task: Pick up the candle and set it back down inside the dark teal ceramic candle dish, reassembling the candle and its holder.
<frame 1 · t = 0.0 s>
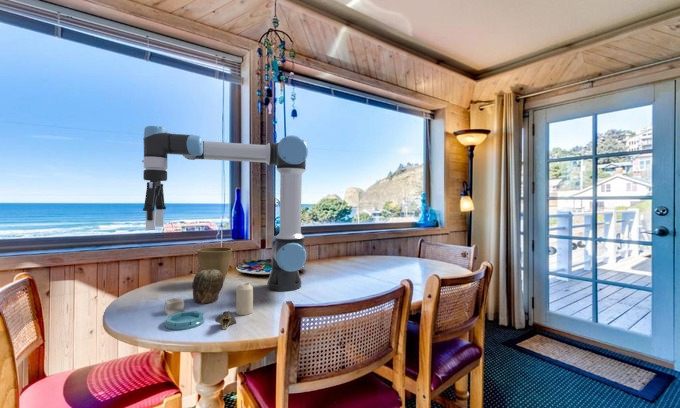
hand: (155, 228, 119), 28 cm above the table, fingers open, 13 cm apart
candle dish: (185, 323, 103), on the table
candle: (244, 313, 113), on the table
brown rough lump: (208, 301, 125), on the table
plant pot: (214, 284, 149), on the table
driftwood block: (174, 312, 113), on the table
shark head: (225, 328, 100), on the table
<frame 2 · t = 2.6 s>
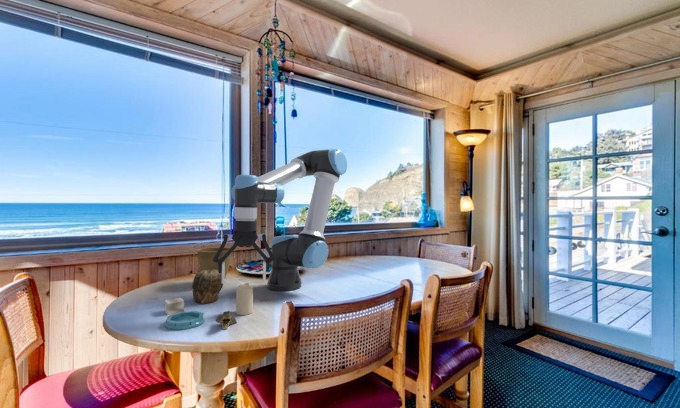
hand: (243, 281, 113), 11 cm above the table, fingers open, 13 cm apart
nothing on the table moved.
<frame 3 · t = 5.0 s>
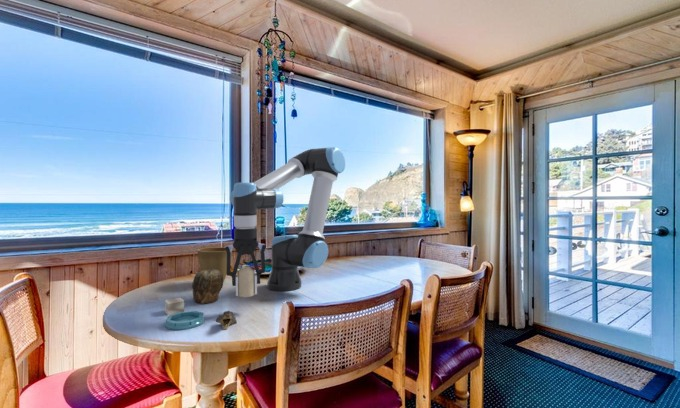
hand: (246, 293, 114), 6 cm above the table, fingers closed on candle, 5 cm apart
candle: (246, 295, 114), point 6 cm above the table, touching gripper
everything else where it was.
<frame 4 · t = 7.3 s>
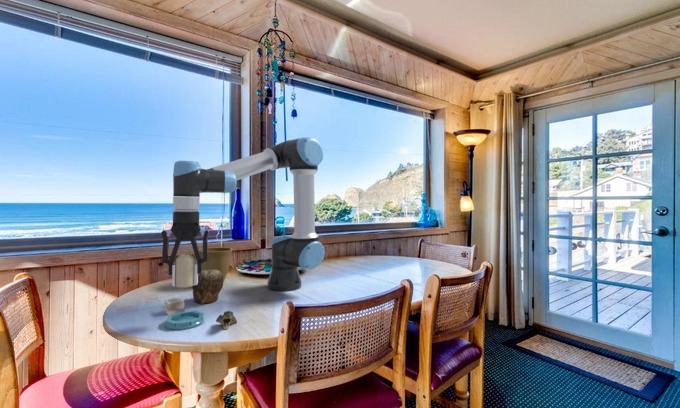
hand: (185, 284, 103), 12 cm above the table, fingers closed on candle, 5 cm apart
candle: (185, 286, 103), point 12 cm above the table, touching gripper
everything else where it was.
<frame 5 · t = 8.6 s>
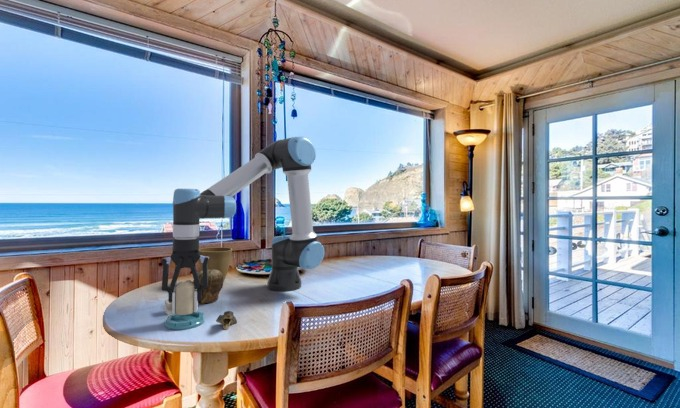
hand: (185, 311, 103), 4 cm above the table, fingers closed on candle, 5 cm apart
candle: (185, 313, 103), point 3 cm above the table, touching gripper
everything else where it was.
when the fingers open (3 cm above the table, at t = 9.5 s): candle drops 1 cm, resting on candle dish.
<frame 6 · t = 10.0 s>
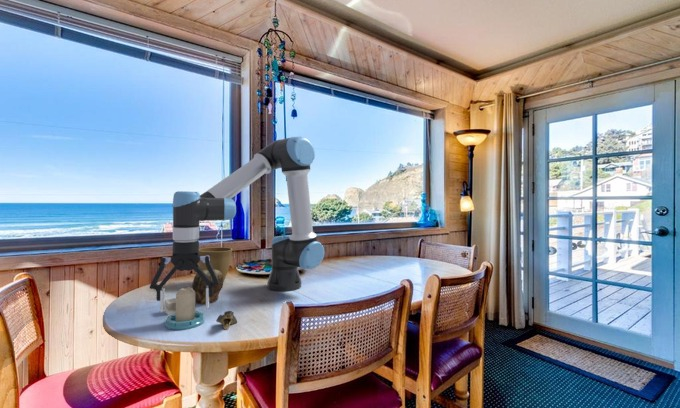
hand: (185, 309, 103), 4 cm above the table, fingers open, 12 cm apart
candle: (185, 320, 103), point 1 cm above the table, touching candle dish
everything else where it was.
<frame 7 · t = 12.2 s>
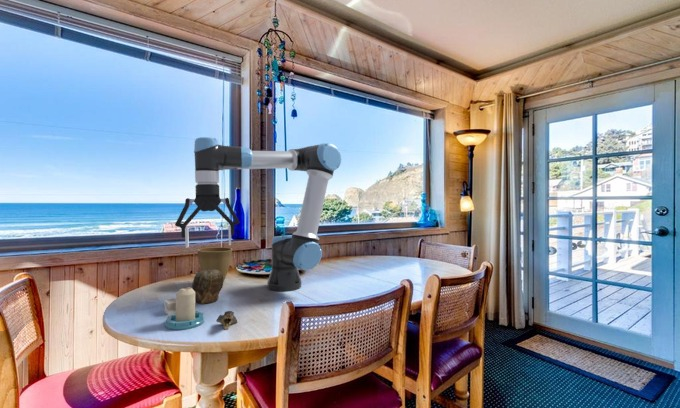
hand: (209, 246, 112), 23 cm above the table, fingers open, 13 cm apart
nothing on the table moved.
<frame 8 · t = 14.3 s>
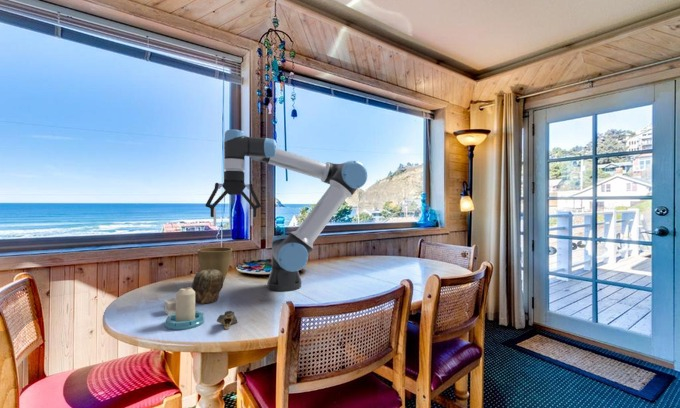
hand: (233, 225, 127), 29 cm above the table, fingers open, 13 cm apart
nothing on the table moved.
at the end: candle 0.1 cm off-centre on the candle dish, point 0.8 cm above the candle dish's base; candle tilted 0°; the gripper is holding nothing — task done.
